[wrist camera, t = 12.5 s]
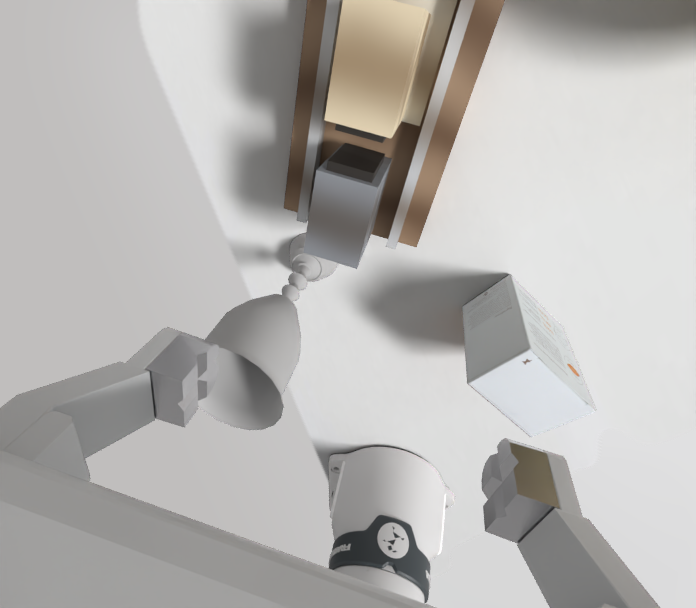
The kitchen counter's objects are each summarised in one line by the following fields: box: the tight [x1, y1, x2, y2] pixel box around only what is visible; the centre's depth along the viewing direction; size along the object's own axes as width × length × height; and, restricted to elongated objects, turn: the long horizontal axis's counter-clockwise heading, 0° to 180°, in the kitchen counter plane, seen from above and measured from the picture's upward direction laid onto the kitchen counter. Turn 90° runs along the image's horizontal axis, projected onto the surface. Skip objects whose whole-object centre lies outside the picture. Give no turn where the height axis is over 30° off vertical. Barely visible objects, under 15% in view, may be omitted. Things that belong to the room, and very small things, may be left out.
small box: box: [462, 274, 596, 437], centre depth 33 cm, size 8×6×10 cm
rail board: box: [284, 0, 505, 269], centre depth 26 cm, size 18×12×9 cm, turn 168°
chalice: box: [198, 233, 338, 430], centre depth 31 cm, size 7×7×18 cm
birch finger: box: [324, 0, 431, 143], centre depth 23 cm, size 7×4×7 cm, turn 168°
